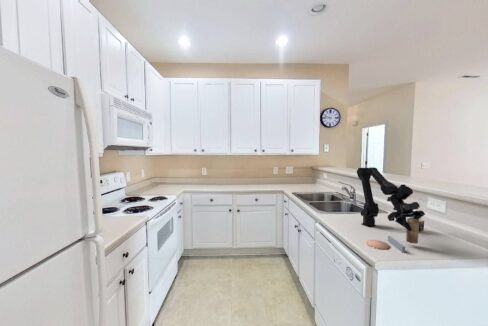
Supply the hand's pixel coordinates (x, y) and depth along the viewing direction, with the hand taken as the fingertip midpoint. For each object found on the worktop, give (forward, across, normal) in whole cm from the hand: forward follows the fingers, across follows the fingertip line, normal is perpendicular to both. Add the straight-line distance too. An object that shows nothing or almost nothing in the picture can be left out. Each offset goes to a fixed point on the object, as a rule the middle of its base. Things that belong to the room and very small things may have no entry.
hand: (415, 230), depth 120 cm
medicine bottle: (-9, +22, +22) cm, 32 cm away
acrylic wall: (+5, -9, +8) cm, 13 cm away
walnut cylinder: (+4, 0, +6) cm, 7 cm away
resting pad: (+2, -17, +11) cm, 20 cm away
